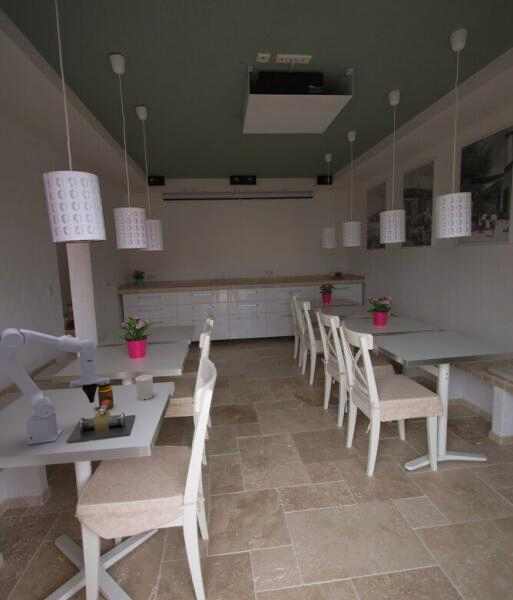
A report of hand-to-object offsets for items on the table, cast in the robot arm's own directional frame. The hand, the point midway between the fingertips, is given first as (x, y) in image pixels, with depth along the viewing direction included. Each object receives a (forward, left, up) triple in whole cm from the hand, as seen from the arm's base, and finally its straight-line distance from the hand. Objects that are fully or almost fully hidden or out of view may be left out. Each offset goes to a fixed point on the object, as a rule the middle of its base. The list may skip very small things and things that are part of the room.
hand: (92, 401), depth 142 cm
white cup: (+18, +22, -10) cm, 30 cm away
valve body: (+5, -7, -9) cm, 12 cm away
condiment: (+1, +14, -10) cm, 17 cm away
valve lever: (+5, -3, -2) cm, 6 cm away
